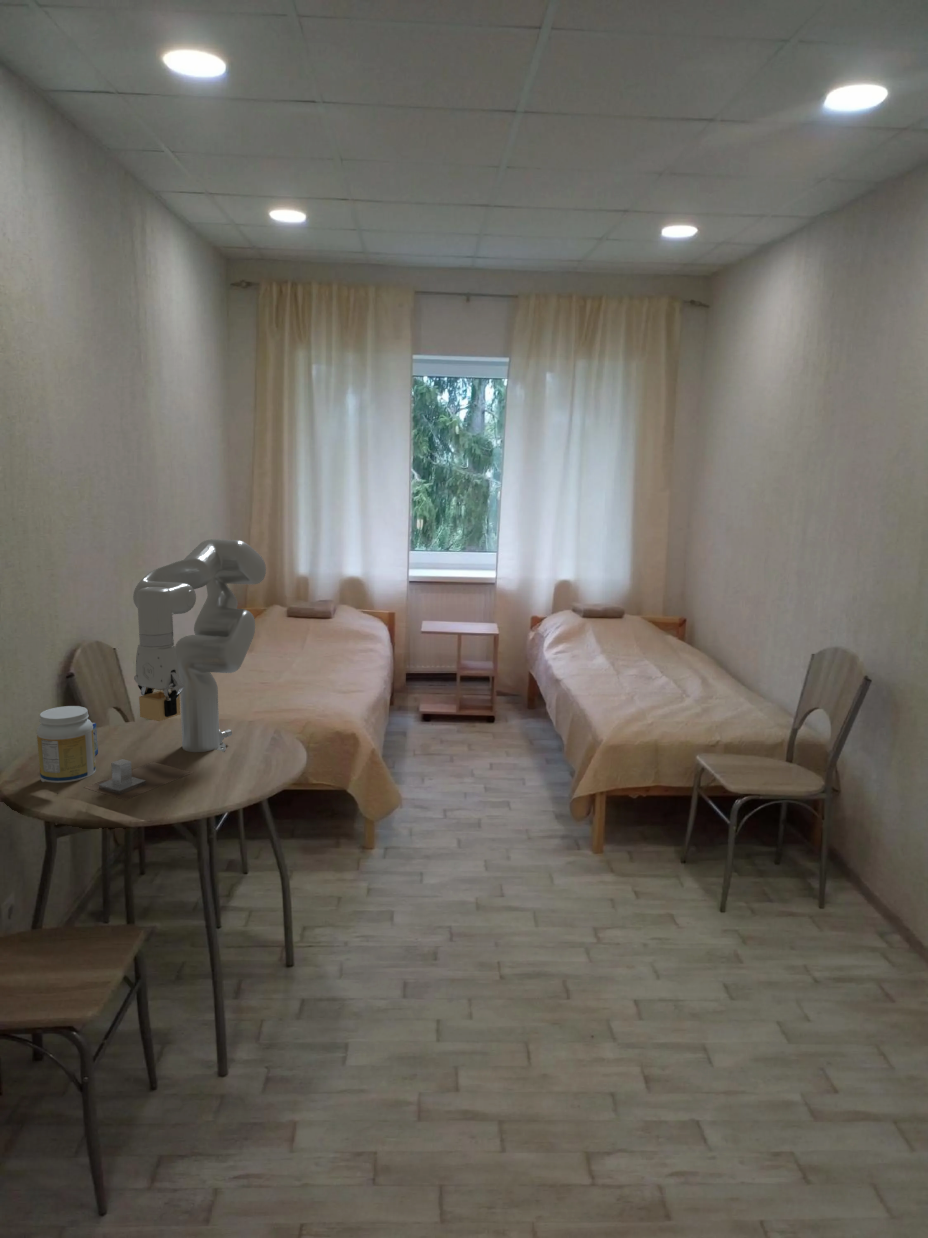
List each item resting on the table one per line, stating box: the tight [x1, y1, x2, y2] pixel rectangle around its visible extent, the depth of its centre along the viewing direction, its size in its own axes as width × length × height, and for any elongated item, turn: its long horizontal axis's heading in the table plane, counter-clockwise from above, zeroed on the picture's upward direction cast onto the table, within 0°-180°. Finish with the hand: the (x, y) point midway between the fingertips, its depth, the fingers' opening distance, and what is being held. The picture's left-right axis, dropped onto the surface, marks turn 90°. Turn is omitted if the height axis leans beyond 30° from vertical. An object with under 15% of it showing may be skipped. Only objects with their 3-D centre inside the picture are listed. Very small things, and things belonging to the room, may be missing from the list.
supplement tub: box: [36, 705, 97, 784], centre depth 198 cm, size 12×12×17 cm
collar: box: [138, 690, 181, 722], centre depth 196 cm, size 6×6×5 cm
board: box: [83, 761, 194, 801], centre depth 196 cm, size 20×14×2 cm
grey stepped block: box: [99, 758, 146, 795], centre depth 191 cm, size 7×7×6 cm
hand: (160, 712), depth 197 cm, fingers closed on collar, 6 cm apart
